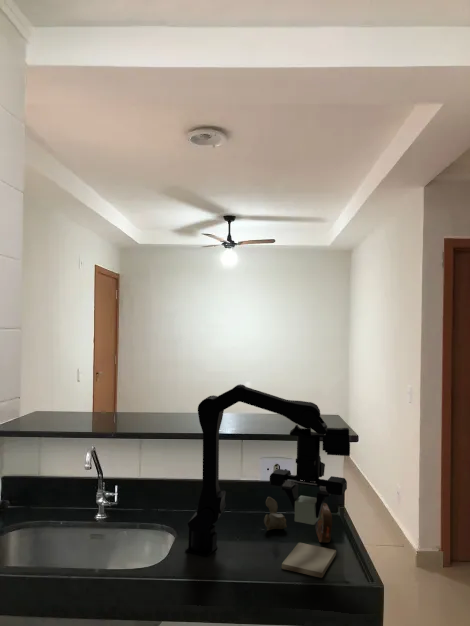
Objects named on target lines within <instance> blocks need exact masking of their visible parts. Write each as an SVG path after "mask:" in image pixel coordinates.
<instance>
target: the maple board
mask: <svg viewBox="0 0 470 626" xmlns="http://www.w3.org/2000/svg"><path fill="white" fill-rule="evenodd" d="M336 555H337V550H336V549H332V548H327V547H323V546H318V545H314V544H307V543H303V542H298V543H297V544H296V546H295V547H294V548H293V550H291V552H290V553H289V554H288V556H286V558H285V559H284V560H283V562H282V563H281V569H282V570H285V571H291V572H295V573H300V574H304V575H308V576H311V577H316V578H321V579H322V578H323V577H324V576H325V573H326V571H327V570H328V569H329V567H330V566H331V564H332V562H333V560H334V558H335V557H336Z"/></svg>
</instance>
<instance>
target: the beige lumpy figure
mask: <svg viewBox="0 0 470 626" xmlns="http://www.w3.org/2000/svg"><path fill="white" fill-rule="evenodd" d="M265 506H266V507H267V508H268V509H269V510H268V511H269V514H268V513H266V514H265V516H264V518H263V523H264V525H265V527H266V531H271V530H275V529H276V530H284V529H286V528H287V519H286V518H285V517H286V516H285V515H283V514H282V513H278V502H277V501H276V500H275V499H274V498H272V497H271V496H267V498H266V500H265Z"/></svg>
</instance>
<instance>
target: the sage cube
mask: <svg viewBox="0 0 470 626" xmlns="http://www.w3.org/2000/svg"><path fill="white" fill-rule="evenodd" d="M316 502H317V497H313V496H307V495H299V496H298V499H297V500H296V501H295V511H294V522H295V523H303V524H307V525H312V526H313V525H315V523H316V522H317V520H318V519H319V517H318V518H316Z"/></svg>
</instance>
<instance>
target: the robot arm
mask: <svg viewBox="0 0 470 626" xmlns="http://www.w3.org/2000/svg"><path fill="white" fill-rule="evenodd" d="M239 402H240V403H243V404H246V405H250V406H253V407H256V408H258V409H263V410H265V411H268V412H271V413H274V414H277V415H279V416H283V417H285V418H286V419H288V420H290V421H291V422H292V423H294V424H295V426H294V427H293V428H292V429H291V430H290V432H289V436H291V437H296V458H295V464H296V474H295V475H294V474H292V473H291V470H290V469H289V470H288V469H281V468H277V469H276V470H275V471H273V472H272V473H270V474H269V485H270V486H276V487H281V490H282V491H284V492H285V493H286V495H287V498H288V499H289V501H290V503H291V506H292V508H293V511H294V512H295V501H296V500H297V499H298V498H299V486H300V485H306V486H311V487H319V490H318V492H317V493H316V498H317V502H316V518H318V517H319V515H320V512H321V509H322V506H323V503H325V500H326V498H328V497H331V495H335V496H342V495H344V493H346V491H347V488H348V482H347V480H346V478H345V477H341V476H340V477H338V476H330V477H329V478H327V479H322V477H325V469H326V468H325V467H326V464H325V463H324V462H322V461H321V460H322V458H321V455H320V454H321V438H322V451H324V453H326V455H327V456H340V457H341V456H344V457H350V454H351V442H350V429H349V428H348V427H339V428H338V427H328V424H327V423H326V422H325V421H324V419H323V418H322V417H321V411H320V410H321V409H320V408H319V406H318V405H317V404H316V403H315V402H312V401H304V400H293V399H292V400H290V399H285V398H283V397H280V396H276V395H273V394H269V393H267V392H264V391H260V390H257V389H255V388H251V387H248V386H246V385H244V384H237V385H235V386H234V387H233V388H231V389H229V390H227V391H225V392H223V393H221V394H219V395H209V396H207V397H206V398H204V399H203V400H202V401H201V402H199V404H198V406H197V416H198V420H199V425H200V428H201V431H202V486H201V487H202V488H201V491H200V495H199V499H198V504H197V510H196V511H195V512H194V513H193V515H191V518H190V519H189V521H188V522H187V526H188V543H187V545H188V546H187V547H186V548H185V549H184V551H185V552H187V553H190V554H195V555H199V556H202V557H203V556H204V557H208V556H210V555H211V554H212V553H213V552H215V550H216V549H218V548H219V547H218V544H217V543H218V533H217V531H216V526H217V525H214V524H215V523H216V522H217V521H218V520H219V518H220V516H221V515H222V513H223V511H224V510H225V507H226V506H227V504H226V499H225V498H226V493H227V491H226V490H221V487H220V484H219V480H220V479H219V476H220V475H219V473H220V471H219V468H220V466H219V462H220V461H219V459H220V428H221V426H222V425H221V424H222V421H223V415H224V410H226V409H228V408H230V407H232V406H233V405H235V404H237V403H239ZM312 430H313V431H312Z"/></svg>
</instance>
